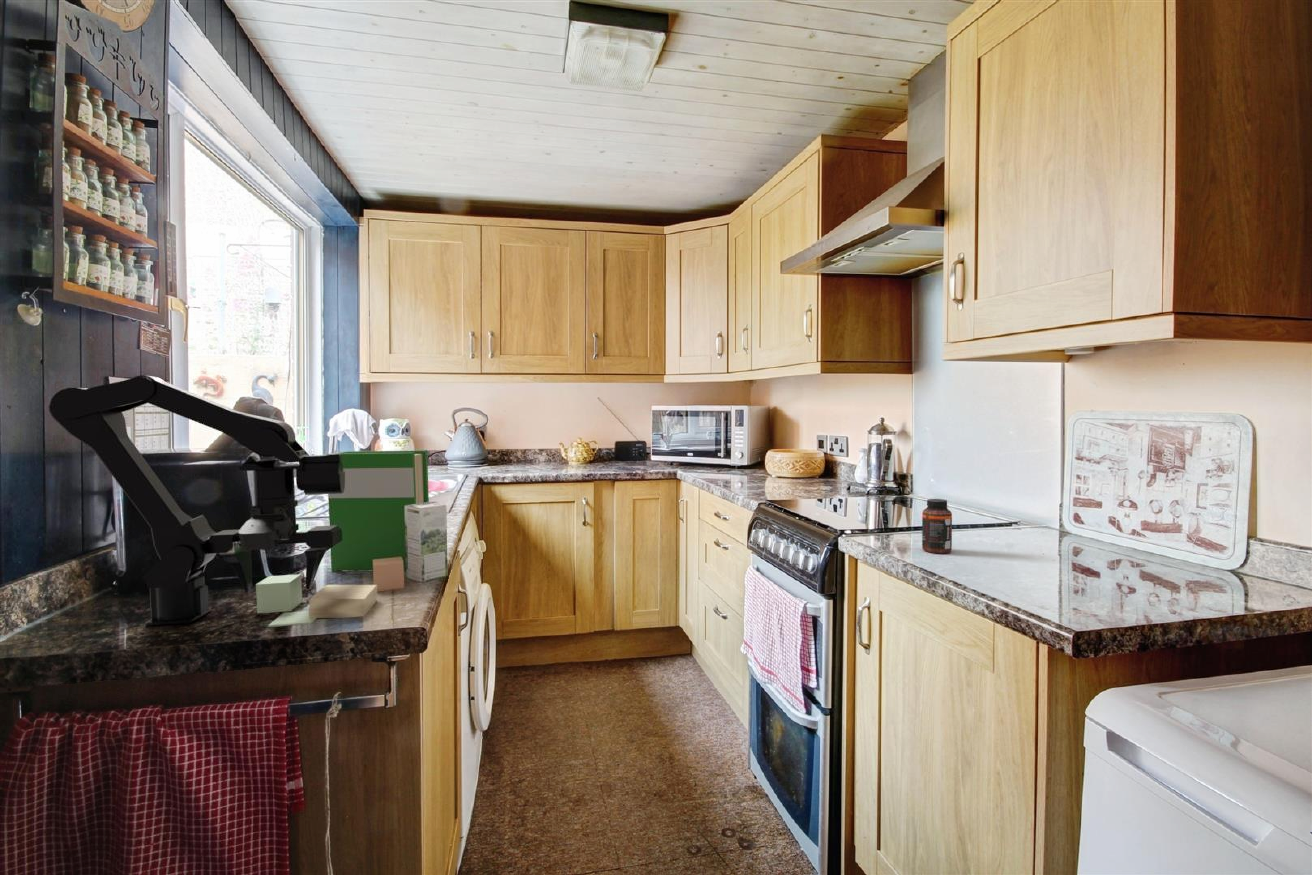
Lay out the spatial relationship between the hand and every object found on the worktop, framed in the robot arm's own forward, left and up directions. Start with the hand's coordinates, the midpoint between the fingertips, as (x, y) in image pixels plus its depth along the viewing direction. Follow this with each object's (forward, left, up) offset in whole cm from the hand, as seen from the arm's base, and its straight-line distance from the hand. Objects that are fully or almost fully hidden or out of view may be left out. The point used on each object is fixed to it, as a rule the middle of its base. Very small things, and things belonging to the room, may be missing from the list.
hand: (278, 590), depth 104 cm
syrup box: (+21, +14, -3) cm, 26 cm away
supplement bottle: (+128, +10, -3) cm, 129 cm away
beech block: (+11, -4, -3) cm, 12 cm away
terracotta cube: (+15, +9, -3) cm, 18 cm away
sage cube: (0, 0, -3) cm, 3 cm away
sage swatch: (+5, -7, -3) cm, 9 cm away
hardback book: (+10, +26, -3) cm, 28 cm away
